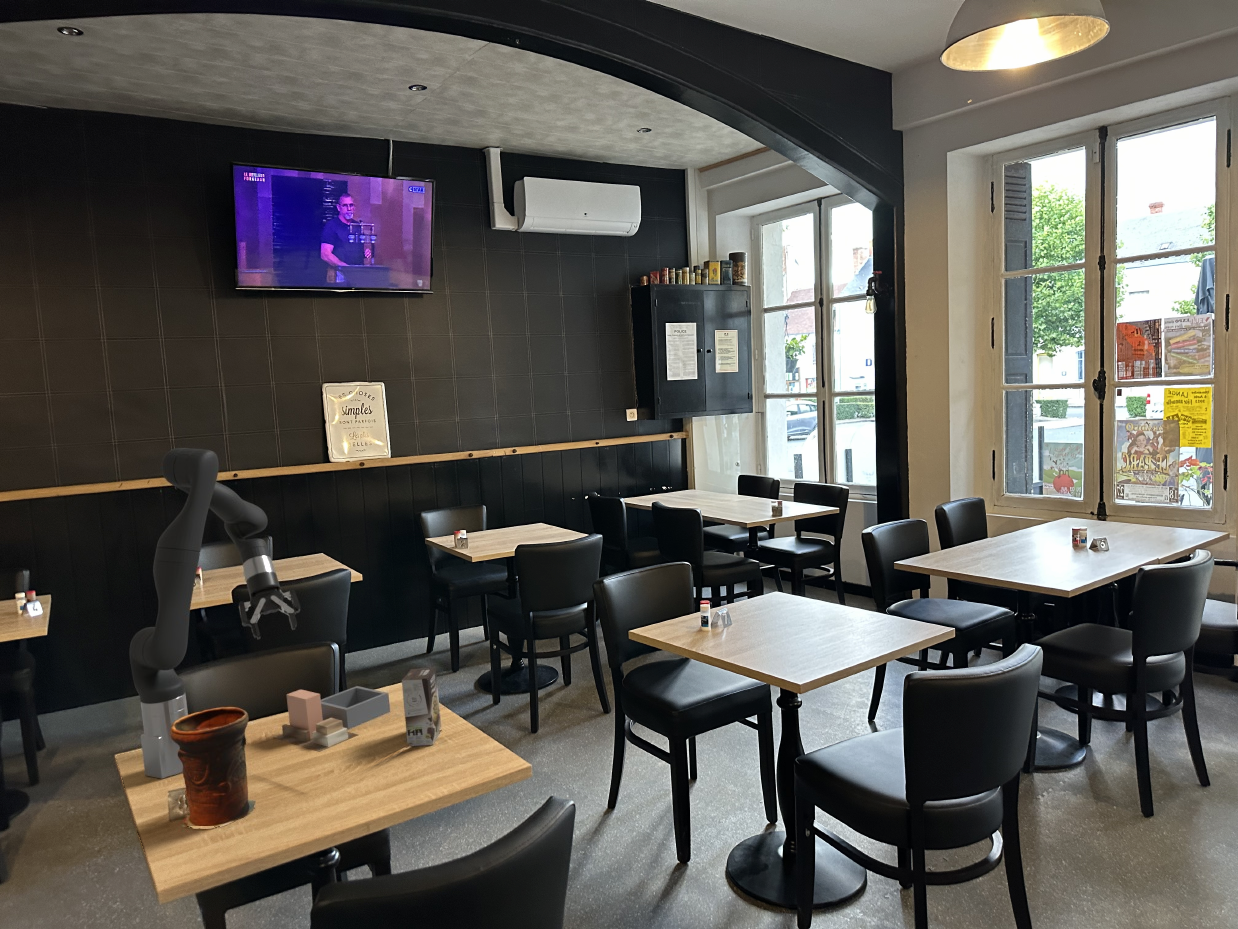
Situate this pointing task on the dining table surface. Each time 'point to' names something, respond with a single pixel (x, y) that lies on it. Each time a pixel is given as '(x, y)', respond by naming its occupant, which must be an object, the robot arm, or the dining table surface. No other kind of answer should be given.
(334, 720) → the upper offcut
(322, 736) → the block
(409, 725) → the coffee box
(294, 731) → the walnut rack
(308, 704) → the salmon pink block
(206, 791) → the vessel
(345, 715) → the charcoal bin
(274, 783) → the dining table surface
